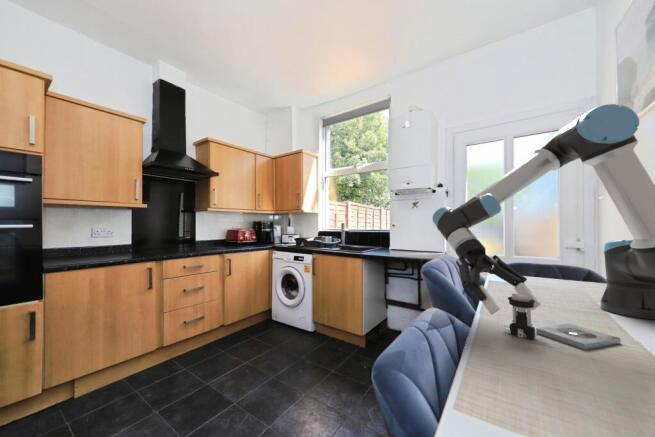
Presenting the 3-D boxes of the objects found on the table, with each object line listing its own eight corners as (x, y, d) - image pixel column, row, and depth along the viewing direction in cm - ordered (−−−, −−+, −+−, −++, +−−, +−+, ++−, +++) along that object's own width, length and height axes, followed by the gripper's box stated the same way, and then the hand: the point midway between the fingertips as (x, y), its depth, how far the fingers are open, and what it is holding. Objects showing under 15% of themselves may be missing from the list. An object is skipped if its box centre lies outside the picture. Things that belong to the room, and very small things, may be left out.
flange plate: (568, 328, 68) (568, 323, 68) (620, 343, 58) (620, 338, 59) (536, 333, 65) (536, 328, 65) (585, 350, 55) (585, 344, 55)
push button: (500, 333, 64) (498, 293, 65) (507, 329, 67) (505, 290, 68) (532, 342, 59) (530, 299, 60) (539, 337, 62) (537, 295, 63)
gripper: (490, 253, 84) (542, 312, 69) (426, 254, 77) (468, 321, 62) (505, 237, 80) (563, 297, 64) (438, 237, 73) (486, 305, 57)
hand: (516, 309), depth 63 cm, fingers open, 13 cm apart
